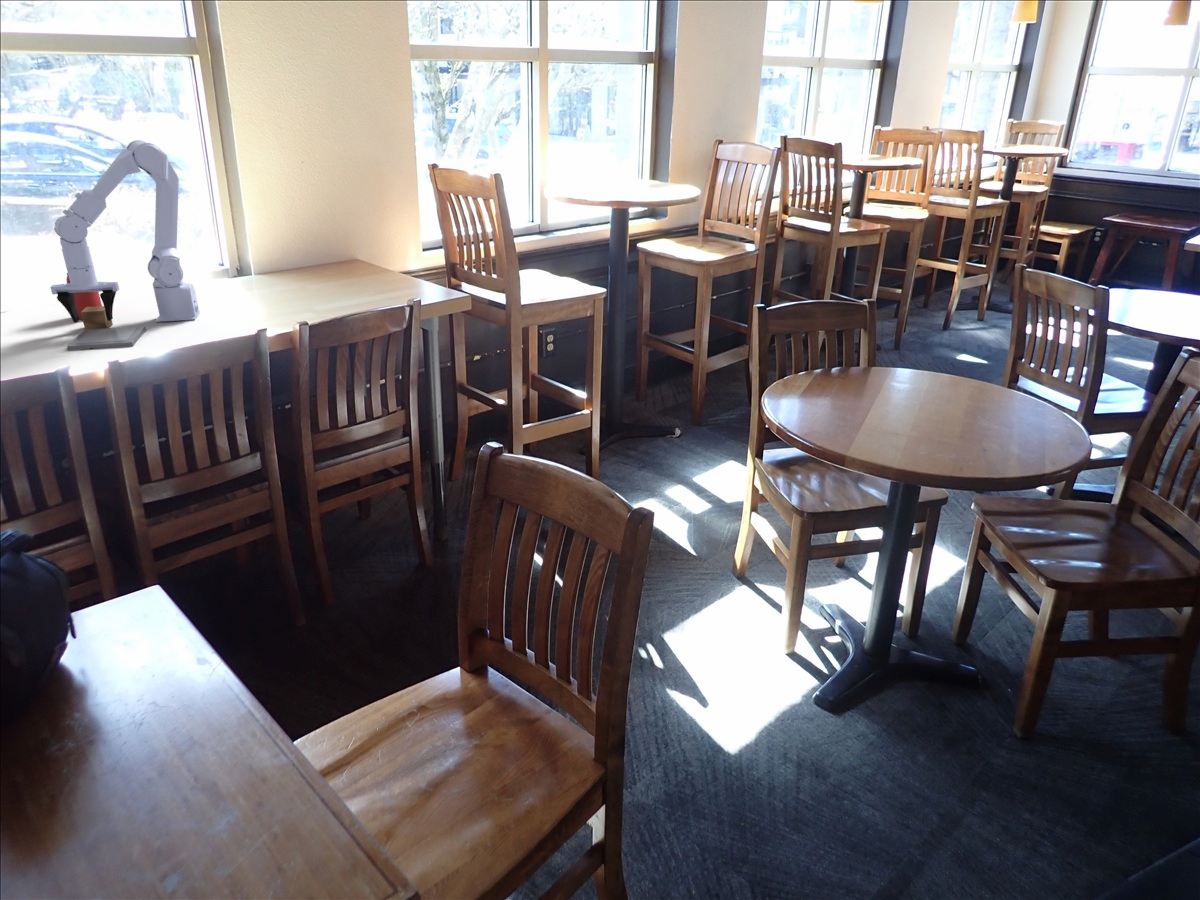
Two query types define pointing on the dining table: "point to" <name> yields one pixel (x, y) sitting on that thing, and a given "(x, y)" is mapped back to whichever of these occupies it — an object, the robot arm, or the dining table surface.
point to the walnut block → (95, 318)
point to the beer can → (85, 300)
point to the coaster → (107, 337)
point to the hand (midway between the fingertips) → (93, 320)
